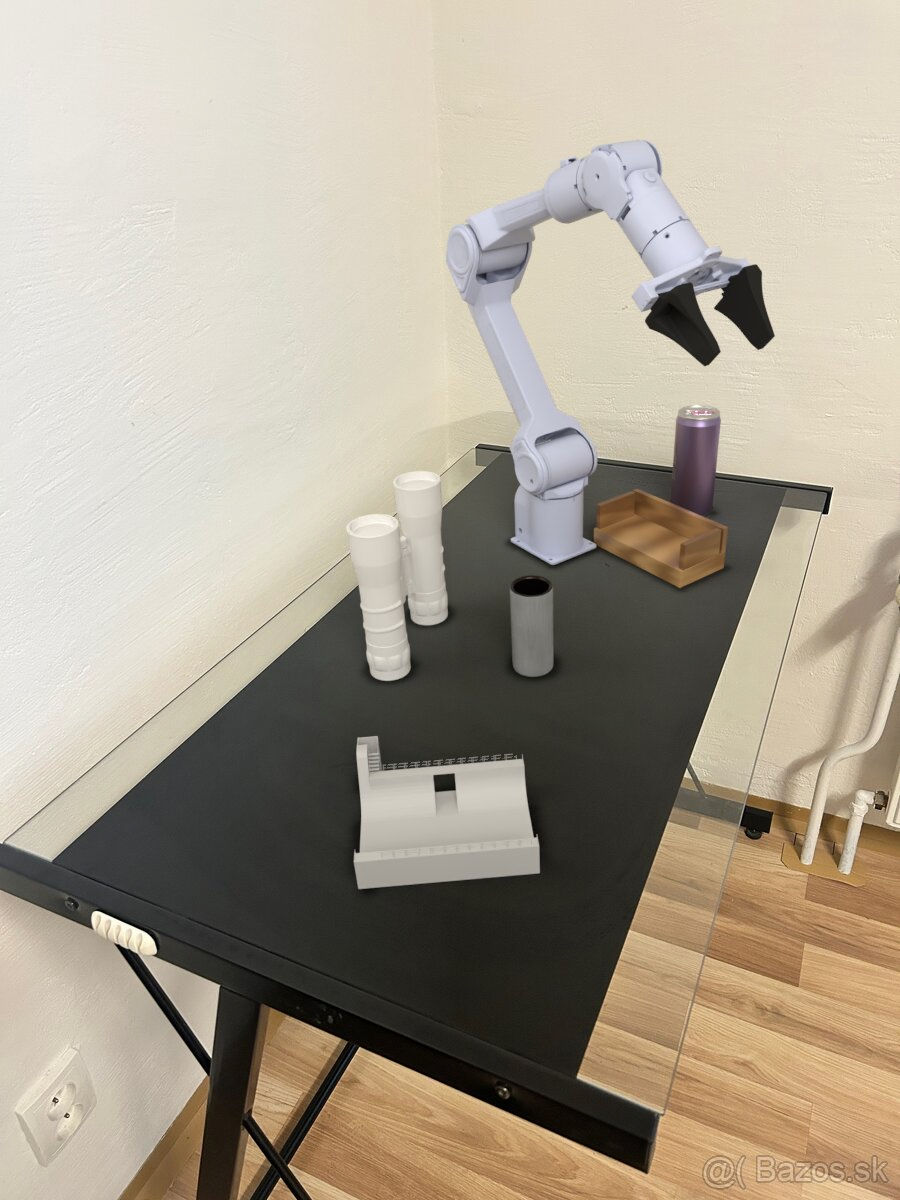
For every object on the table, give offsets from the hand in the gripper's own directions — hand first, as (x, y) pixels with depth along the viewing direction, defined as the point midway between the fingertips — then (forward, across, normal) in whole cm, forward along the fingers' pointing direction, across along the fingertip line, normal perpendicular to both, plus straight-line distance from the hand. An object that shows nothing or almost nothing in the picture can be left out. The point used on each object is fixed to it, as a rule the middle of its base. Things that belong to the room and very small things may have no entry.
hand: (740, 351), depth 85 cm
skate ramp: (+26, -41, +20) cm, 53 cm away
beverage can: (+3, +22, +40) cm, 46 cm away
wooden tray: (+8, +8, +36) cm, 38 cm away
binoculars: (+6, -28, +38) cm, 48 cm away
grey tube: (+15, -20, +30) cm, 39 cm away
